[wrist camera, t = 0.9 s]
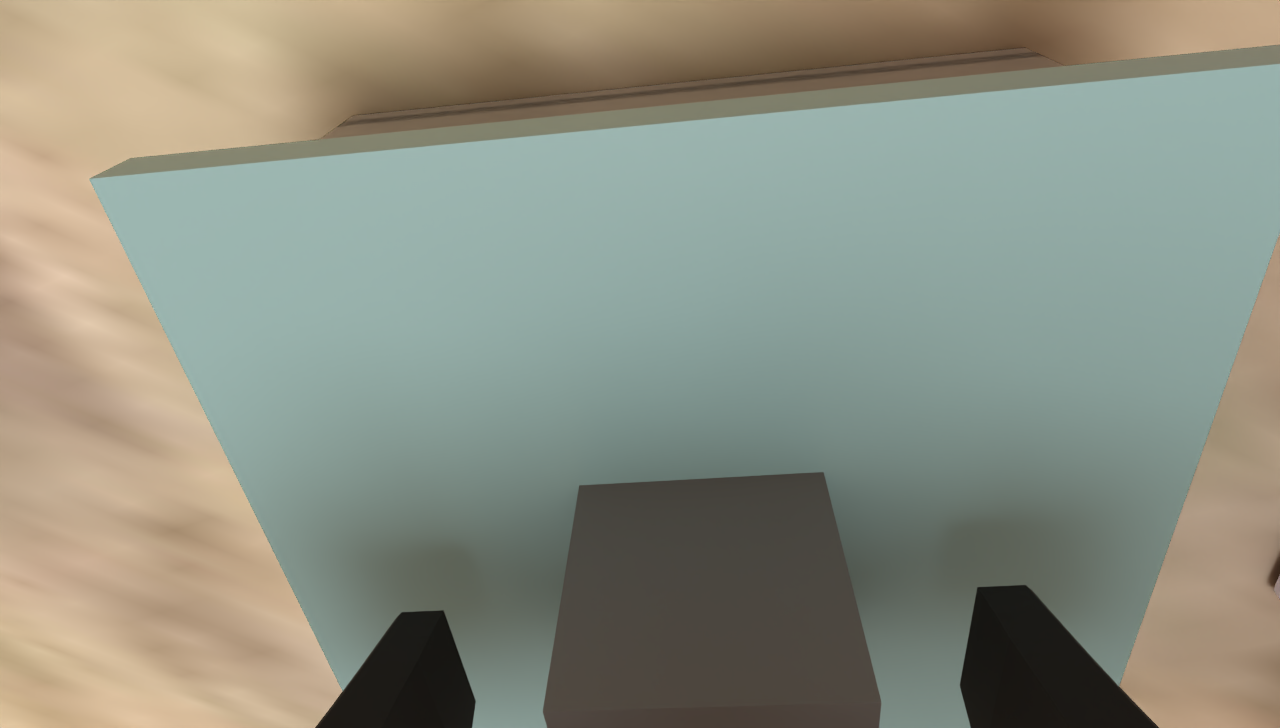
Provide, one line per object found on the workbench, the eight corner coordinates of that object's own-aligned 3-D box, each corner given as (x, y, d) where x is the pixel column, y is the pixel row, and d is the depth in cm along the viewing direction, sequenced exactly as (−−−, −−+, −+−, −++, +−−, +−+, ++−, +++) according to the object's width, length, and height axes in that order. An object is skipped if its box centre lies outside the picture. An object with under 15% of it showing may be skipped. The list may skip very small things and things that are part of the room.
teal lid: (1288, 44, 8) (1776, 170, 5) (1061, 758, 16) (1184, 1034, 12) (130, 158, 10) (-215, 330, 6) (412, 772, 17) (337, 1026, 13)
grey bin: (1024, 47, 13) (1191, 123, 9) (950, 550, 19) (1027, 736, 15) (353, 115, 14) (215, 213, 10) (488, 571, 20) (439, 749, 16)
